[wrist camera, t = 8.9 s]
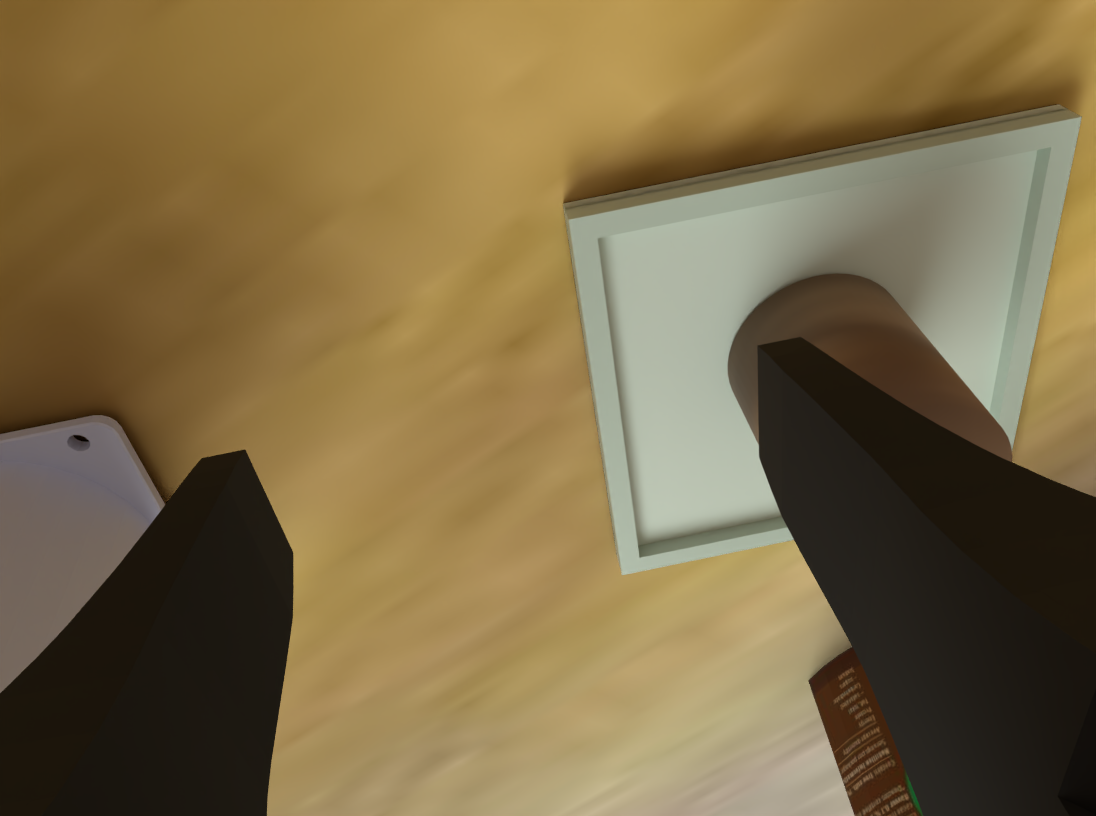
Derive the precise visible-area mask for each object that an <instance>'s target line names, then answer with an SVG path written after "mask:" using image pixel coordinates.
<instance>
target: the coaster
mask: <svg viewBox="0 0 1096 816" xmlns="http://www.w3.org/2000/svg"><path fill="white" fill-rule="evenodd" d="M1081 118H1082V117H1081V116H1079V115H1078V114H1076V113H1074V112H1072V111H1070V110H1068V109H1067V108H1065V107H1063V106H1061V105H1059V104H1058V105H1053V106H1048V107H1043V108H1038V109H1033V110H1028V111H1023V112H1018V113H1013V114H1008V115H1003V116H998V117H993V118H988V119H983V120H978V121H973V122H968V123H963V124H958V125H953V126H948V127H943V128H938V129H933V130H928V131H923V132H918V133H913V134H908V135H903V136H898V137H893V138H888V139H883V140H878V141H873V142H868V143H863V144H858V145H853V146H848V147H843V148H838V149H833V150H828V151H823V152H818V153H813V154H808V155H803V156H798V157H793V158H788V159H783V160H778V161H773V162H768V163H763V164H758V165H753V166H748V167H743V168H738V169H733V170H728V171H723V172H718V173H713V174H708V175H703V176H698V177H693V178H688V179H683V180H678V181H673V182H668V183H663V184H658V185H653V186H648V187H643V188H638V189H633V190H628V191H623V192H618V193H613V194H608V195H603V196H598V197H593V198H588V199H583V200H578V201H573V202H568V203H563V208H564V215H565V221H566V228H567V234H568V241H569V247H570V254H571V260H572V267H573V273H574V280H575V286H576V293H577V299H578V306H579V312H580V319H581V325H582V332H583V339H584V345H585V352H586V358H587V365H588V371H589V378H590V384H591V391H592V397H593V404H594V410H595V417H596V423H597V430H598V436H599V443H600V449H601V456H602V462H603V469H604V476H605V482H606V489H607V495H608V502H609V508H610V515H611V521H612V528H613V534H614V541H615V547H616V554H617V558H618V561H619V565H620V569H621V573H622V575H626V574H631V573H635V572H640V571H645V570H650V569H655V568H660V567H664V566H669V565H674V564H679V563H684V562H689V561H694V560H698V559H703V558H708V557H713V556H718V555H723V554H727V553H732V552H737V551H742V550H747V549H752V548H757V547H761V546H766V545H771V544H776V543H781V542H786V541H790V540H794V539H793V537H792V535H791V533H790V531H789V529H788V528H787V526H786V524H785V522H784V520H783V518H782V516H781V514H780V511H779V508H778V506H777V503H776V501H775V498H774V496H773V493H772V491H771V488H770V486H769V483H768V480H767V477H766V475H765V472H764V469H763V467H762V464H761V461H760V459H759V445H758V443H757V441H756V439H755V437H754V434H753V432H752V430H751V428H750V426H749V424H748V422H747V420H746V418H745V416H744V414H743V412H742V410H741V408H740V406H739V404H738V401H737V399H736V397H735V395H734V393H733V391H732V389H731V386H730V383H729V378H728V366H727V365H728V357H729V352H730V349H731V345H732V343H733V341H734V338H735V336H736V334H737V333H738V331H739V329H740V327H741V326H742V324H743V323H744V322H745V320H746V319H747V318H748V316H749V315H750V314H751V313H752V312H753V311H754V310H755V309H756V308H757V307H758V306H759V305H760V304H762V303H763V302H764V301H765V300H766V299H768V298H769V297H770V296H772V295H773V294H775V293H776V292H778V291H780V290H781V289H783V288H785V287H787V286H789V285H791V284H793V283H796V282H798V281H800V280H804V279H807V278H810V277H814V276H819V275H824V274H836V273H839V274H852V275H857V276H861V277H864V278H867V279H870V280H872V281H874V282H876V283H878V284H879V285H881V286H882V287H883V288H885V289H886V290H887V291H888V292H889V293H890V294H891V295H892V296H893V298H894V299H895V300H896V301H897V302H898V304H899V305H900V306H901V307H902V308H903V310H904V311H905V312H906V313H907V314H908V316H909V317H910V318H911V319H912V320H913V322H914V323H915V324H916V325H917V326H918V328H919V329H920V330H921V331H922V332H923V334H924V335H925V336H926V337H927V338H928V340H929V341H930V342H931V343H932V344H933V346H934V347H935V348H936V349H937V350H938V352H939V353H940V354H941V355H942V356H943V358H944V359H945V360H946V361H947V362H948V363H949V365H950V366H951V367H952V368H953V369H954V371H955V372H956V373H957V374H958V375H959V377H960V378H961V379H962V380H963V381H964V383H965V384H966V385H967V386H968V387H969V389H970V390H971V391H972V392H973V393H974V395H975V396H976V397H977V398H978V399H979V401H980V402H981V403H982V404H983V405H984V407H985V408H986V409H987V410H988V411H989V413H990V414H991V415H992V416H993V417H994V419H995V420H996V421H997V422H998V423H999V425H1000V426H1001V427H1002V428H1003V430H1004V431H1005V433H1006V435H1007V436H1008V439H1009V441H1010V444H1011V449H1013V444H1014V439H1015V434H1016V430H1017V425H1018V420H1019V415H1020V410H1021V406H1022V401H1023V396H1024V391H1025V386H1026V382H1027V377H1028V372H1029V367H1030V362H1031V358H1032V353H1033V348H1034V343H1035V338H1036V334H1037V329H1038V324H1039V319H1040V315H1041V310H1042V305H1043V300H1044V295H1045V291H1046V286H1047V281H1048V276H1049V271H1050V267H1051V262H1052V257H1053V252H1054V247H1055V243H1056V238H1057V233H1058V228H1059V224H1060V219H1061V214H1062V209H1063V204H1064V200H1065V195H1066V190H1067V185H1068V180H1069V176H1070V171H1071V166H1072V161H1073V156H1074V152H1075V147H1076V142H1077V137H1078V133H1079V128H1080V123H1081Z"/></svg>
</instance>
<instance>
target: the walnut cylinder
mask: <svg viewBox="0 0 1096 816" xmlns="http://www.w3.org/2000/svg"><path fill="white" fill-rule="evenodd" d="M797 337H802V338H803V339H805V340H806V341H808V342H810V343H811V344H813V345H814V346H816V347H817V348H819V349H820V350H822V351H823V352H825V353H826V354H828V355H829V356H831V357H832V358H834V359H835V360H836V361H838V362H839V363H841V364H842V365H844V366H845V367H847V368H848V369H850V370H851V371H853V372H854V373H856V374H857V375H859V376H860V377H862V378H863V379H865V380H867V381H868V382H870V383H871V384H873V385H874V386H876V387H877V388H879V389H880V390H882V391H884V392H885V393H887V394H888V395H890V396H891V397H893V398H895V399H896V400H898V401H899V402H901V403H903V404H904V405H906V406H908V407H909V408H911V409H913V410H914V411H916V412H918V413H919V414H921V415H923V416H924V417H926V418H928V419H930V420H931V421H933V422H935V423H937V424H938V425H940V426H942V427H944V428H946V429H947V430H949V431H951V432H953V433H955V434H957V435H959V436H960V437H962V438H964V439H966V440H968V441H970V442H972V443H973V444H975V445H977V446H979V447H981V448H983V449H985V450H987V451H989V452H991V453H993V454H995V455H997V456H999V457H1001V458H1003V459H1006V460H1008V461H1010V462H1012V449H1011V444H1010V441H1009V439H1008V436H1007V435H1006V433H1005V431H1004V430H1003V428H1002V427H1001V426H1000V425H999V423H998V422H997V421H996V420H995V419H994V417H993V416H992V415H991V414H990V413H989V411H988V410H987V409H986V408H985V407H984V405H983V404H982V403H981V402H980V401H979V399H978V398H977V397H976V396H975V395H974V393H973V392H972V391H971V390H970V389H969V387H968V386H967V385H966V384H965V383H964V381H963V380H962V379H961V378H960V377H959V375H958V374H957V373H956V372H955V371H954V369H953V368H952V367H951V366H950V365H949V363H948V362H947V361H946V360H945V359H944V358H943V356H942V355H941V354H940V353H939V352H938V350H937V349H936V348H935V347H934V346H933V344H932V343H931V342H930V341H929V340H928V338H927V337H926V336H925V335H924V334H923V332H922V331H921V330H920V329H919V328H918V326H917V325H916V324H915V323H914V322H913V320H912V319H911V318H910V317H909V316H908V314H907V313H906V312H905V311H904V310H903V308H902V307H901V306H900V305H899V304H898V302H897V301H896V300H895V299H894V298H893V296H892V295H891V294H890V293H889V292H888V291H887V290H886V289H885V288H883V287H882V286H881V285H879V284H878V283H876V282H874V281H872V280H870V279H867V278H864V277H861V276H857V275H852V274H839V273H836V274H824V275H819V276H814V277H810V278H807V279H804V280H800V281H798V282H796V283H793V284H791V285H789V286H787V287H785V288H783V289H781V290H780V291H778V292H776V293H775V294H773V295H772V296H770V297H769V298H768V299H766V300H765V301H764V302H763V303H762V304H760V305H759V306H758V307H757V308H756V309H755V310H754V311H753V312H752V313H751V314H750V315H749V316H748V318H747V319H746V320H745V322H744V323H743V324H742V326H741V327H740V329H739V331H738V333H737V334H736V336H735V338H734V341H733V343H732V345H731V349H730V352H729V357H728V365H727V366H728V378H729V383H730V386H731V389H732V391H733V393H734V395H735V397H736V399H737V401H738V404H739V406H740V408H741V410H742V412H743V414H744V416H745V418H746V420H747V422H748V424H749V426H750V428H751V430H752V432H753V434H754V437H755V439H756V441H757V443H758V445H759V425H758V354H757V345H762V344H767V343H772V342H777V341H782V340H787V339H792V338H797Z"/></svg>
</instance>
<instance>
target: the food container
mask: <svg viewBox="0 0 1096 816" xmlns="http://www.w3.org/2000/svg"><path fill="white" fill-rule="evenodd" d="M809 684H810V687H811V690H812V693H813V696H814V699H815V702H816V704H817V707H818V710H819V713H820V716H821V719H822V722H823V725H824V728H825V731H826V734H827V736H828V739H829V742H830V745H831V748H832V751H833V754H834V757H835V760H836V763H837V766H838V768H839V771H840V774H841V777H842V780H843V783H844V786H845V789H846V792H847V795H848V798H849V800H850V803H851V806H852V809H853V812H854V815H855V816H923V814H922V811H921V809H920V806H919V803H918V801H917V798H916V796H915V793H914V791H913V788H912V786H911V783H910V781H909V778H908V776H907V773H906V770H905V768H904V765H903V763H902V760H901V758H900V755H899V753H898V750H897V748H896V745H895V743H894V740H893V738H892V735H891V733H890V730H889V728H888V726H887V723H886V721H885V718H884V716H883V714H882V711H881V709H880V707H879V704H878V702H877V699H876V697H875V695H874V692H873V690H872V687H871V685H870V683H869V680H868V678H867V676H866V673H865V671H864V669H863V667H862V665H861V663H860V661H859V659H858V657H857V655H856V653H855V651H854V649H853V647H852V648H850V649H849V650H847V651H845V652H844V653H842V654H840V655H839V656H837V657H836V658H835V659H833V660H832V661H831V662H829V663H828V664H827V665H825V666H824V667H823V668H822V669H821V670H820V671H819V672H817V673H816V674H815V675H814V676H813V677H812V678H811V679H810V680H809Z"/></svg>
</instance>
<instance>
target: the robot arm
mask: <svg viewBox="0 0 1096 816" xmlns="http://www.w3.org/2000/svg"><path fill="white" fill-rule="evenodd" d="M757 354H758V425H759V459H760V461H761V464H762V467H763V469H764V472H765V475H766V477H767V480H768V483H769V486H770V488H771V491H772V493H773V496H774V498H775V501H776V503H777V506H778V508H779V511H780V514H781V516H782V518H783V520H784V522H785V524H786V526H787V528H788V529H789V531H790V533H791V535H792V537H793V539H794V541H795V542H796V544H797V546H798V548H799V550H800V552H801V553H802V555H803V557H804V559H805V561H806V563H807V564H808V566H809V568H810V570H811V572H812V574H813V575H814V577H815V579H816V581H817V583H818V584H819V586H820V588H821V590H822V592H823V593H824V595H825V597H826V599H827V601H828V603H829V604H830V606H831V608H832V610H833V612H834V613H835V615H836V617H837V619H838V621H839V623H840V624H841V626H842V628H843V630H844V632H845V633H846V635H847V637H848V639H849V641H850V642H851V645H852V647H853V649H854V651H855V653H856V655H857V657H858V659H859V661H860V663H861V665H862V667H863V669H864V671H865V673H866V676H867V678H868V680H869V683H870V685H871V687H872V690H873V692H874V695H875V697H876V699H877V702H878V704H879V707H880V709H881V711H882V714H883V716H884V718H885V721H886V723H887V726H888V728H889V730H890V733H891V735H892V738H893V740H894V743H895V745H896V748H897V750H898V753H899V755H900V758H901V760H902V763H903V765H904V768H905V770H906V773H907V776H908V778H909V781H910V783H911V786H912V788H913V791H914V793H915V796H916V798H917V801H918V803H919V806H920V809H921V811H922V814H923V816H1096V497H1094V496H1091V495H1088V494H1085V493H1083V492H1080V491H1077V490H1075V489H1072V488H1070V487H1067V486H1065V485H1062V484H1060V483H1057V482H1055V481H1053V480H1050V479H1048V478H1046V477H1043V476H1041V475H1039V474H1037V473H1035V472H1032V471H1030V470H1028V469H1026V468H1023V467H1021V466H1019V465H1017V464H1015V463H1012V462H1010V461H1008V460H1006V459H1003V458H1001V457H999V456H997V455H995V454H993V453H991V452H989V451H987V450H985V449H983V448H981V447H979V446H977V445H975V444H973V443H972V442H970V441H968V440H966V439H964V438H962V437H960V436H959V435H957V434H955V433H953V432H951V431H949V430H947V429H946V428H944V427H942V426H940V425H938V424H937V423H935V422H933V421H931V420H930V419H928V418H926V417H924V416H923V415H921V414H919V413H918V412H916V411H914V410H913V409H911V408H909V407H908V406H906V405H904V404H903V403H901V402H899V401H898V400H896V399H895V398H893V397H891V396H890V395H888V394H887V393H885V392H884V391H882V390H880V389H879V388H877V387H876V386H874V385H873V384H871V383H870V382H868V381H867V380H865V379H863V378H862V377H860V376H859V375H857V374H856V373H854V372H853V371H851V370H850V369H848V368H847V367H845V366H844V365H842V364H841V363H839V362H838V361H836V360H835V359H834V358H832V357H831V356H829V355H828V354H826V353H825V352H823V351H822V350H820V349H819V348H817V347H816V346H814V345H813V344H811V343H810V342H808V341H806V340H805V339H803V338H802V337H797V338H792V339H787V340H782V341H777V342H772V343H767V344H762V345H757ZM73 435H81V436H84V437H86V438H87V439H88V440H89V441H88V442H82V441H79V440H77V439H76V438H75V437H74V436H73ZM292 619H293V551H292V549H291V547H290V545H289V543H288V540H287V538H286V536H285V534H284V532H283V530H282V528H281V525H280V523H279V521H278V519H277V517H276V515H275V513H274V510H273V508H272V506H271V504H270V502H269V500H268V498H267V495H266V493H265V491H264V489H263V487H262V485H261V482H260V480H259V478H258V476H257V474H256V472H255V470H254V467H253V465H252V463H251V461H250V459H249V457H248V455H247V452H246V450H240V451H236V452H231V453H226V454H221V455H216V456H211V457H206V458H202V459H201V460H200V461H199V462H198V463H197V465H196V466H195V467H194V468H193V469H192V471H191V472H190V473H189V474H188V476H187V477H186V478H185V480H184V481H183V482H182V483H181V485H180V486H179V487H178V489H177V490H176V491H175V493H174V494H173V495H172V497H171V498H170V499H169V501H168V502H167V503H166V505H165V503H164V502H163V500H162V498H161V496H160V495H159V493H158V491H157V489H156V487H155V486H154V484H153V482H152V480H151V479H150V477H149V475H148V473H147V471H146V470H145V468H144V466H143V464H142V463H141V461H140V459H139V457H138V455H137V454H136V452H135V450H134V448H133V447H132V445H131V443H130V441H129V439H128V438H127V436H126V434H125V432H124V431H123V429H122V427H121V426H120V425H119V423H118V422H117V421H115V420H114V419H112V418H110V417H107V416H103V415H93V416H88V417H83V418H78V419H73V420H68V421H63V422H58V423H53V424H48V425H43V426H38V427H33V428H28V429H23V430H18V431H13V432H9V433H4V434H0V816H267V796H268V786H269V777H270V768H271V760H272V753H273V747H274V740H275V734H276V727H277V720H278V714H279V707H280V701H281V694H282V688H283V681H284V675H285V668H286V661H287V654H288V648H289V641H290V634H291V626H292Z"/></svg>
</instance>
